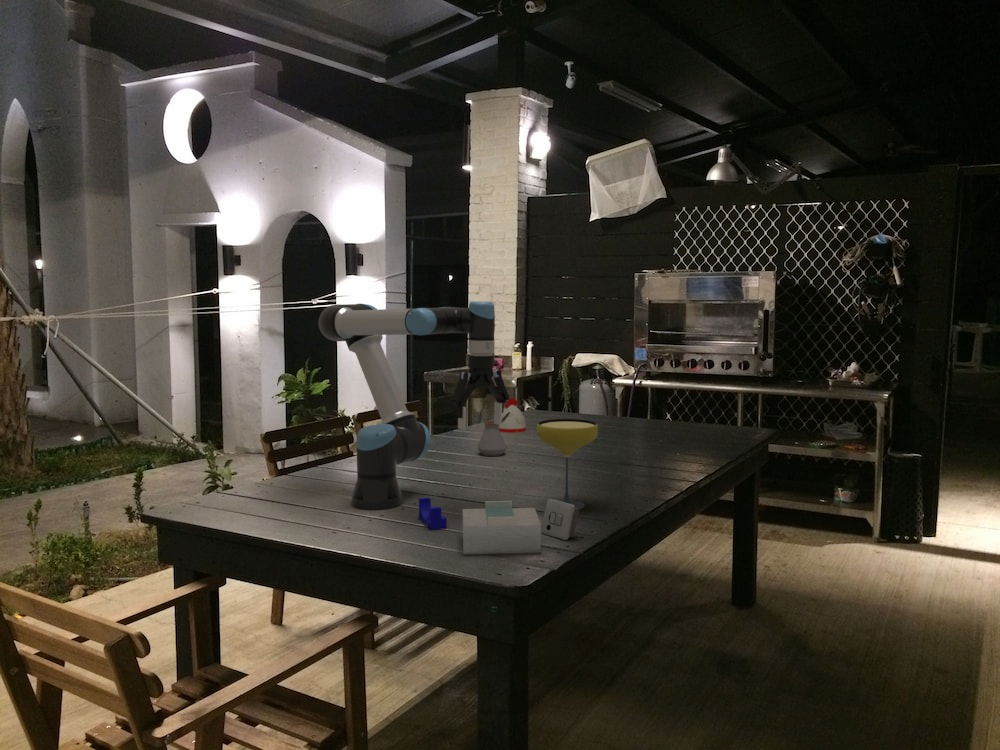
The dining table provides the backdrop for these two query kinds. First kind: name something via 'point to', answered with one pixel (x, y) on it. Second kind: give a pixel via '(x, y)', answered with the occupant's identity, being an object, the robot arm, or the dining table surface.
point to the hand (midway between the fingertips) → (480, 426)
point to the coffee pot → (492, 439)
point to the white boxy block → (501, 529)
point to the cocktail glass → (567, 440)
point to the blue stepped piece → (431, 515)
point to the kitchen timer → (512, 418)
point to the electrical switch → (559, 519)
